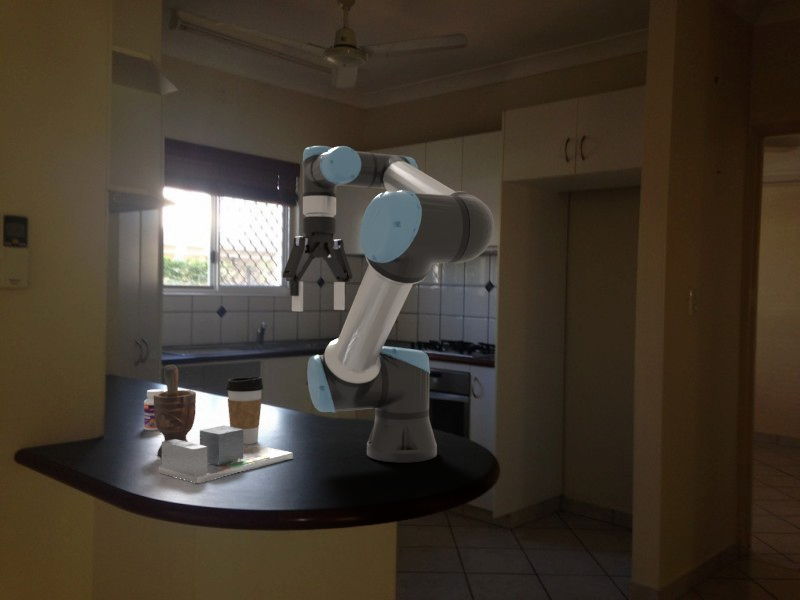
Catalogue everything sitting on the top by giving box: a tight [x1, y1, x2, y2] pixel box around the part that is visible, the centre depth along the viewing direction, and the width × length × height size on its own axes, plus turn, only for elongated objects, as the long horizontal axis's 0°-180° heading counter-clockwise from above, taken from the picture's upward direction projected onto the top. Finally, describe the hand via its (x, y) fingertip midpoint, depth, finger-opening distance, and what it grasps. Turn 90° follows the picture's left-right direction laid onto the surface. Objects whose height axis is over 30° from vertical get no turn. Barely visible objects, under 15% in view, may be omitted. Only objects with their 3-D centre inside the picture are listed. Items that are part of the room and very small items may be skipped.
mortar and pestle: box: [154, 364, 197, 457], centre depth 147 cm, size 12×9×20 cm
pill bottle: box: [143, 388, 165, 432], centre depth 174 cm, size 5×5×10 cm
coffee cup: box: [225, 376, 264, 446], centre depth 160 cm, size 8×8×15 cm
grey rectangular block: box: [199, 425, 244, 465], centre depth 137 cm, size 8×6×6 cm
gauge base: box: [158, 439, 294, 484], centre depth 139 cm, size 12×24×6 cm, turn 143°
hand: (319, 310), depth 157 cm, fingers open, 13 cm apart
